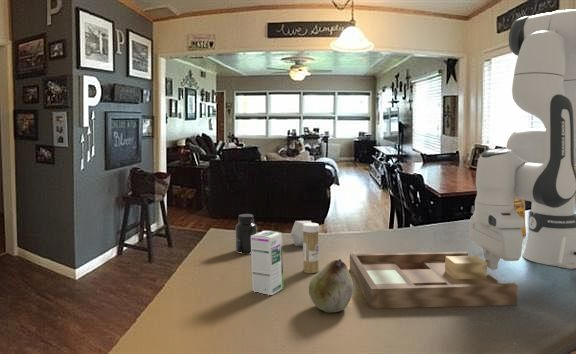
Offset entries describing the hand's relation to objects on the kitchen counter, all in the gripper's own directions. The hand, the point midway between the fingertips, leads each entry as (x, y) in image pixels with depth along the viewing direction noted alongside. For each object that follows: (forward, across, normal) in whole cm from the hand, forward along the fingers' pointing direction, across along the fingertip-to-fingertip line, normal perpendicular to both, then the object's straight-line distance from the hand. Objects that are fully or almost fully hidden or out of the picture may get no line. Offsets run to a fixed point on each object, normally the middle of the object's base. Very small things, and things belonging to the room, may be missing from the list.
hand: (491, 267), depth 114 cm
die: (+4, -41, -44) cm, 61 cm away
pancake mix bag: (+4, -48, +31) cm, 57 cm away
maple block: (+2, 0, -7) cm, 7 cm away
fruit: (+4, +13, -43) cm, 45 cm away
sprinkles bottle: (+4, -13, -45) cm, 47 cm away
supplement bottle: (+4, -34, -64) cm, 72 cm away
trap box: (+4, 0, -17) cm, 18 cm away
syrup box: (+4, +1, -57) cm, 57 cm away
